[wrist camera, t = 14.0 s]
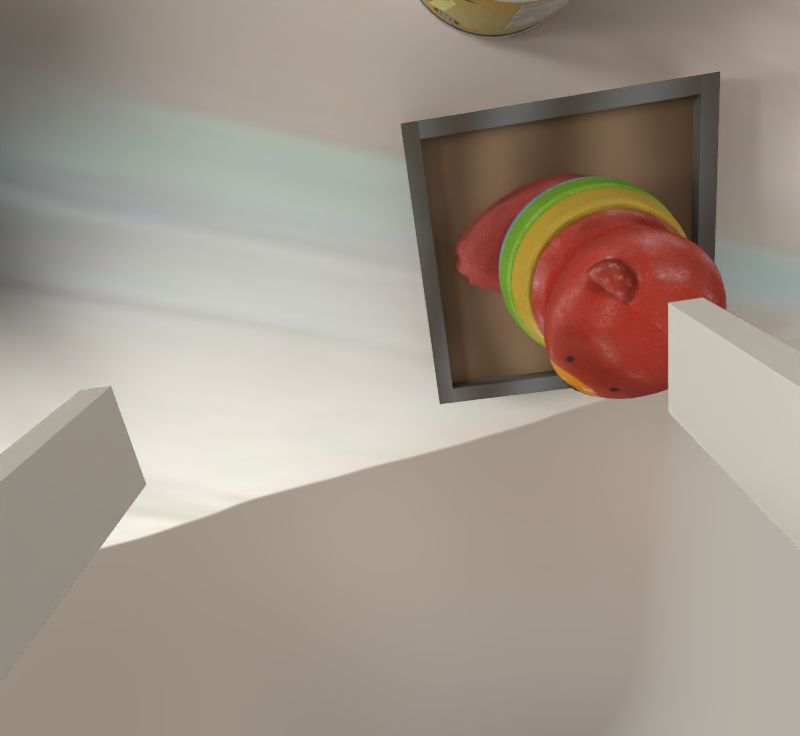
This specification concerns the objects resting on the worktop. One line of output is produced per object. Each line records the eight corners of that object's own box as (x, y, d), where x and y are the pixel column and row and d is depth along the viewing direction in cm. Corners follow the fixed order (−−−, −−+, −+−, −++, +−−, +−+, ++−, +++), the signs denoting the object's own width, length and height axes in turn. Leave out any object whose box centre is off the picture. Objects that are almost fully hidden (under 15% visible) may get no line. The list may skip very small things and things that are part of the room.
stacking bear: (440, 257, 39) (454, 346, 22) (553, 128, 36) (667, 119, 19) (560, 361, 41) (653, 511, 25) (675, 247, 38) (871, 330, 22)
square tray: (438, 377, 46) (440, 403, 42) (403, 125, 40) (401, 123, 35) (680, 346, 45) (711, 370, 40) (683, 79, 38) (719, 71, 34)
